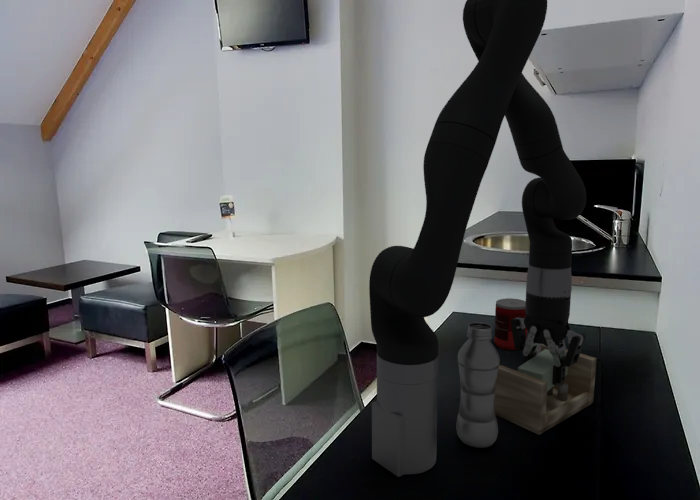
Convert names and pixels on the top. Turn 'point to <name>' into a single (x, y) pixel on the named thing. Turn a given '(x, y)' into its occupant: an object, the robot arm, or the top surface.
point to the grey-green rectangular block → (540, 367)
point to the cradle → (544, 395)
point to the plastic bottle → (478, 387)
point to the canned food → (507, 321)
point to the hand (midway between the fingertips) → (543, 378)
